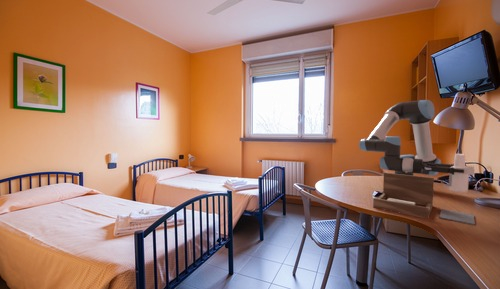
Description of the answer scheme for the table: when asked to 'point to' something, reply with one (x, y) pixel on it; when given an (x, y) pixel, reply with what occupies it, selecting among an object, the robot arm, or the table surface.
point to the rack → (406, 194)
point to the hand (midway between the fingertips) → (473, 170)
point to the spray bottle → (459, 176)
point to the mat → (457, 216)
